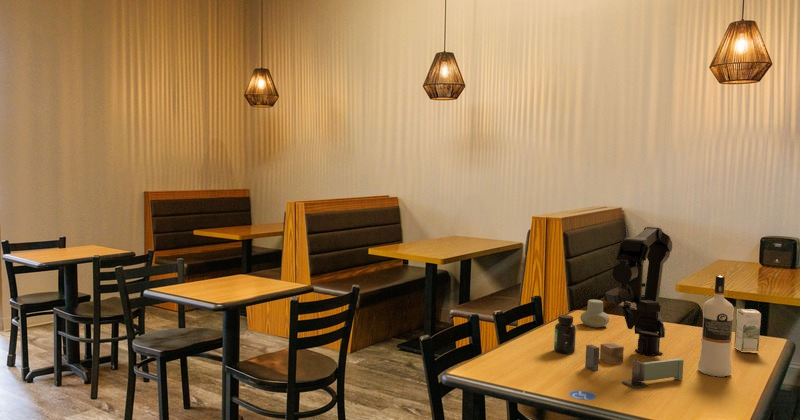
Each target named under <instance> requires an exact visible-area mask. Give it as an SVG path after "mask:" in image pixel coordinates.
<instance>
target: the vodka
mask: <svg viewBox="0 0 800 420" xmlns="http://www.w3.org/2000/svg"><path fill="white" fill-rule="evenodd" d="M725 279H726V277H725V276H723V275H716V276H715V279H714V280H715V284H714V296H713V297H711V298H709V299H708V300H706V301H704V303H703V306H702V309H703V310H702V312H703V313H702V318H703V319H702V333H701V339H700V341H701V347H700V348H701V349H700V356H699V360H698V363H697V369H698V370H699V372H700V373H702V374H704V375H706V374H707V376H710V377H715V376H717V377H716V378H725V376H727V377H729V376H730V375H731V374H732V371H733V370H732V369H733V367H732V361H731V354H732V353H731V352H732V351H731V350H732V345H733V343H732V335H733V334H732V333H733V320H734V313H735V310H734V305H733V304H732V303H731V302H730V301H728V300H727V299H726V298H725V282H726V280H725Z"/></svg>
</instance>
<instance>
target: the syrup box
mask: <svg viewBox="0 0 800 420" xmlns="http://www.w3.org/2000/svg"><path fill="white" fill-rule="evenodd" d="M761 321H762V313H761V312H760V311H758V310H757V309H752V308H749V309H748V308H746V309H745V308H737V309H736V317H735V331H734V332H735V333H734V344H733V348H734V347H736V348H738V349H739V350H741V351H758V352H759V347H760V346H759V344H760V333H761V332H760V331H761Z"/></svg>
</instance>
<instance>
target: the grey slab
mask: <svg viewBox="0 0 800 420" xmlns="http://www.w3.org/2000/svg"><path fill="white" fill-rule="evenodd" d="M683 374H684V359H682V358H679V357H678V358H677V357H676V358H671V359H663V360H656V361H654V360H653V361H646V362H640V374H639V381H641V382H643V383H644V382H648V381H656V380H665V379H671V378H673V379H676V380H678V381H679V380H683V378H684V377H683Z"/></svg>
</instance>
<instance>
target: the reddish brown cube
mask: <svg viewBox="0 0 800 420" xmlns="http://www.w3.org/2000/svg"><path fill="white" fill-rule="evenodd" d="M599 360H600V361H604V362H606V363H609V364H615V363H617V364H618V363H624V346H622V345H620V344H617V343H614V342H610V343H609V342H608V343H601V344H600V347H599Z"/></svg>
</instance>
